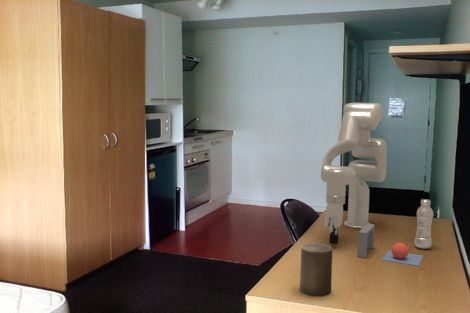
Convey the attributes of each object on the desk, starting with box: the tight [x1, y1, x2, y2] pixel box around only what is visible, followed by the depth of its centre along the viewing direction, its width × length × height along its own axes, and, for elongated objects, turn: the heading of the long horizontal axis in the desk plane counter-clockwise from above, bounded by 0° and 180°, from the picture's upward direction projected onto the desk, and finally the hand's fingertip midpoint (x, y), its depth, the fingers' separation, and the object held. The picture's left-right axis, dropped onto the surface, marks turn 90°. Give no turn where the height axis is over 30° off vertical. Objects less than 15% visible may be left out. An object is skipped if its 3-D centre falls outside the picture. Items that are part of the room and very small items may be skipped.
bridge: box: [356, 223, 376, 259], centre depth 186 cm, size 3×15×10 cm, turn 152°
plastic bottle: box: [414, 198, 434, 250], centre depth 192 cm, size 6×7×20 cm
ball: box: [391, 242, 409, 259], centre depth 179 cm, size 6×6×6 cm
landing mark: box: [381, 250, 424, 267], centre depth 180 cm, size 13×13×1 cm
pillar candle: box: [299, 242, 333, 297], centre depth 147 cm, size 10×10×15 cm
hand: (333, 243), depth 192 cm, fingers closed
